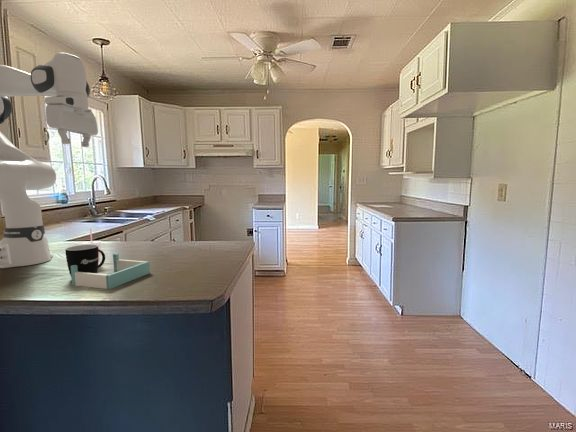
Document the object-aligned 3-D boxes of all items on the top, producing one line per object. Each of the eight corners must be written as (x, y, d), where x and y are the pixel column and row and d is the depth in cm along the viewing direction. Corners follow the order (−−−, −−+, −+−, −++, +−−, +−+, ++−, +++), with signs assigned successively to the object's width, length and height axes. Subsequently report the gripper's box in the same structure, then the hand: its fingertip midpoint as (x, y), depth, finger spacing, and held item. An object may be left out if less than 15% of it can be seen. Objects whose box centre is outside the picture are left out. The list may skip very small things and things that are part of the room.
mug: (79, 283, 100) (77, 251, 99) (61, 280, 104) (58, 248, 103) (114, 273, 111) (112, 244, 110) (97, 270, 115) (94, 242, 114)
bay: (72, 285, 98) (70, 265, 98) (116, 270, 115) (115, 253, 114) (109, 289, 94) (107, 269, 94) (150, 273, 111) (149, 255, 110)
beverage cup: (85, 269, 116) (82, 230, 115) (82, 266, 121) (79, 228, 119) (104, 266, 120) (101, 228, 119) (100, 263, 125) (98, 227, 124)
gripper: (84, 110, 121) (87, 148, 123) (40, 96, 101) (43, 142, 102) (101, 110, 121) (103, 148, 122) (59, 96, 100) (63, 142, 102)
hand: (76, 145), depth 112 cm, fingers open, 8 cm apart
